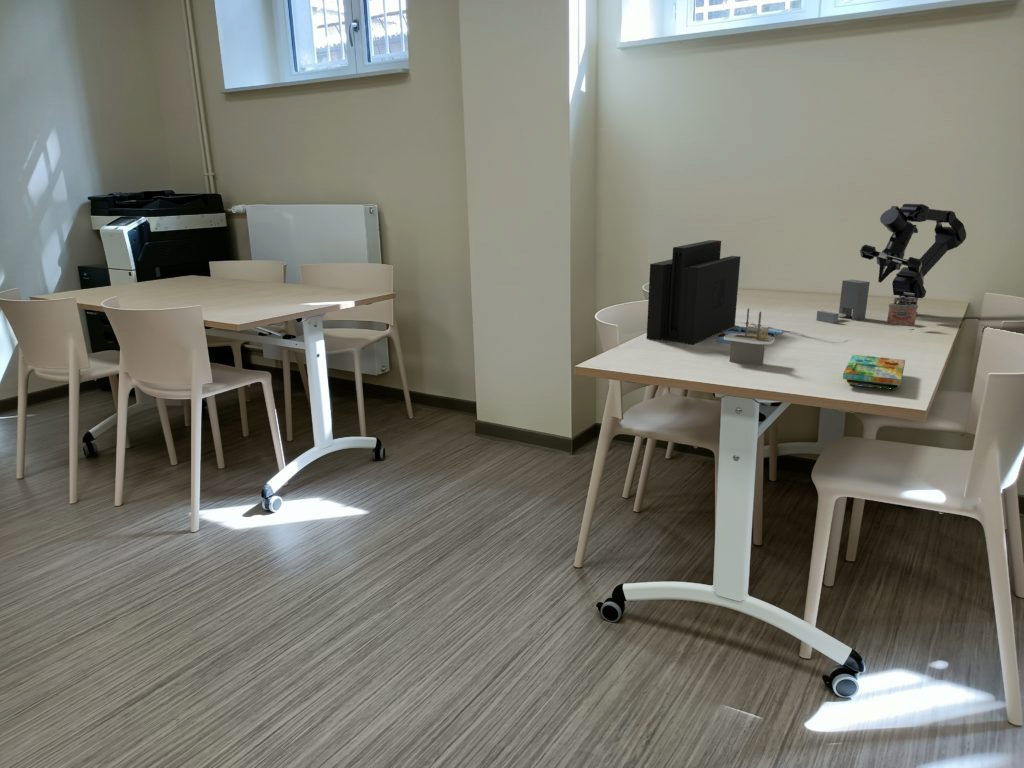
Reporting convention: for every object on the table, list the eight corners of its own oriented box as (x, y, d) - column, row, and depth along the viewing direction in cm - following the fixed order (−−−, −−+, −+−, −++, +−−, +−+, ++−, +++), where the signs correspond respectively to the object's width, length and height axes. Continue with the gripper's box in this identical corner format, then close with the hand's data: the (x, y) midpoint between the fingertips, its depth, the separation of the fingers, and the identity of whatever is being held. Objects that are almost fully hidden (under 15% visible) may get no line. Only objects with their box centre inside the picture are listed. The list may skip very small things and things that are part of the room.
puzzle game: (905, 356, 181) (901, 375, 165) (903, 375, 183) (899, 396, 166) (852, 351, 187) (843, 369, 170) (850, 369, 188) (841, 389, 171)
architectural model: (710, 350, 209) (714, 299, 205) (805, 361, 197) (811, 308, 193) (686, 366, 192) (690, 311, 188) (789, 380, 180) (795, 321, 176)
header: (833, 318, 245) (834, 308, 244) (850, 321, 240) (851, 311, 239) (816, 320, 241) (817, 311, 241) (833, 324, 236) (834, 314, 235)
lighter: (885, 327, 237) (889, 296, 234) (886, 326, 239) (890, 294, 237) (914, 330, 233) (919, 298, 230) (914, 328, 236) (919, 296, 233)
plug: (848, 315, 249) (852, 279, 245) (864, 318, 243) (869, 281, 240) (838, 317, 246) (842, 280, 243) (854, 320, 241) (859, 282, 238)
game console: (692, 320, 249) (698, 238, 242) (785, 331, 232) (794, 243, 225) (646, 339, 222) (651, 247, 214) (748, 352, 205) (756, 253, 198)
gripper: (929, 256, 250) (909, 298, 250) (872, 240, 259) (852, 281, 259) (930, 243, 240) (909, 287, 240) (870, 227, 250) (850, 270, 250)
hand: (879, 282), depth 248 cm, fingers closed
